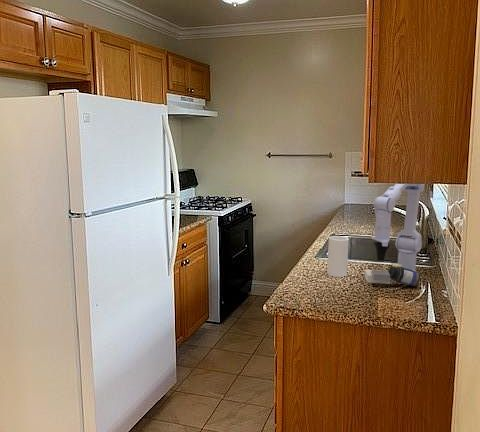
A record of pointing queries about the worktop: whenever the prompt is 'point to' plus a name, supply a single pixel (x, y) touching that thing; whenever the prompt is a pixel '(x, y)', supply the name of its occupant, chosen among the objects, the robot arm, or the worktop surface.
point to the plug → (396, 266)
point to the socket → (370, 279)
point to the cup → (337, 256)
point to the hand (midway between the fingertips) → (380, 260)
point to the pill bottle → (404, 275)
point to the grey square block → (381, 275)
